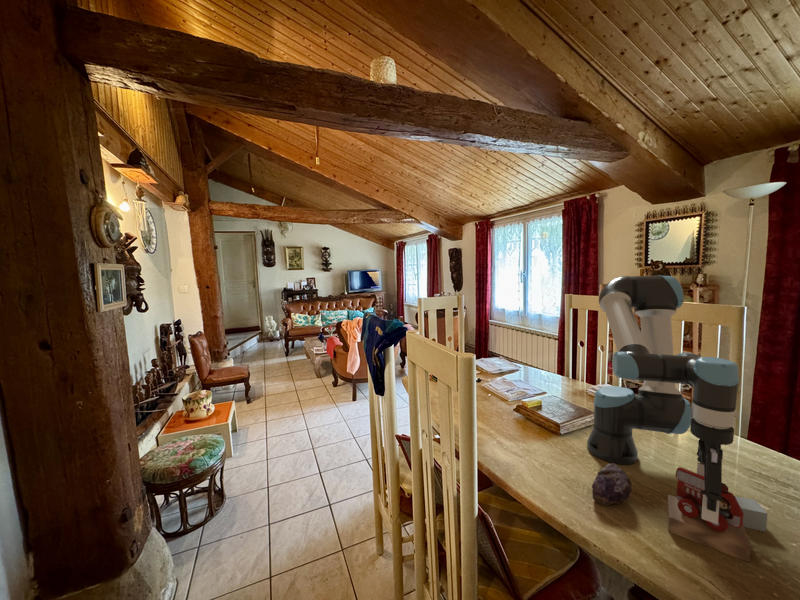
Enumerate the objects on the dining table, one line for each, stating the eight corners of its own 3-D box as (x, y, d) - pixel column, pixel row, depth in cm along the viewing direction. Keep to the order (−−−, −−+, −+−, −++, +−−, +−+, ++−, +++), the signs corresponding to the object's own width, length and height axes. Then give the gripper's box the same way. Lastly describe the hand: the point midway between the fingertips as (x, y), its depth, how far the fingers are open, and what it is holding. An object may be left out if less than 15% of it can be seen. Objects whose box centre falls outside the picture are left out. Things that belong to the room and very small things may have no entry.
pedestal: (668, 531, 81) (669, 517, 80) (667, 507, 88) (668, 494, 88) (749, 562, 72) (750, 546, 72) (740, 532, 80) (741, 517, 79)
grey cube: (738, 525, 82) (740, 508, 81) (728, 512, 86) (729, 495, 86) (765, 531, 80) (767, 513, 79) (753, 517, 84) (755, 499, 84)
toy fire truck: (737, 541, 73) (740, 499, 72) (669, 508, 83) (671, 471, 82) (744, 527, 76) (748, 487, 75) (678, 497, 87) (681, 461, 86)
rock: (586, 502, 93) (627, 520, 86) (584, 477, 91) (626, 493, 84) (598, 477, 101) (637, 492, 93) (597, 454, 99) (637, 467, 92)
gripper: (745, 451, 65) (737, 546, 67) (725, 407, 85) (719, 481, 87) (696, 440, 70) (689, 528, 72) (687, 400, 89) (682, 471, 91)
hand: (705, 503), depth 79 cm, fingers open, 13 cm apart
